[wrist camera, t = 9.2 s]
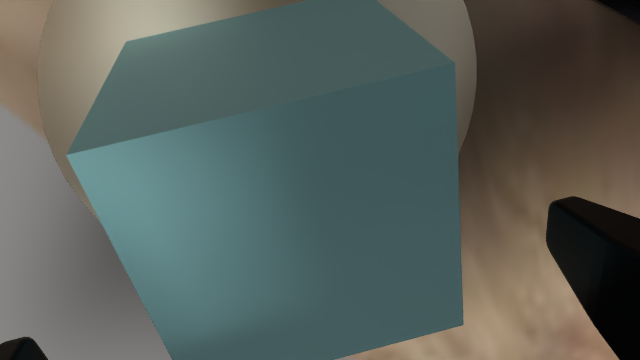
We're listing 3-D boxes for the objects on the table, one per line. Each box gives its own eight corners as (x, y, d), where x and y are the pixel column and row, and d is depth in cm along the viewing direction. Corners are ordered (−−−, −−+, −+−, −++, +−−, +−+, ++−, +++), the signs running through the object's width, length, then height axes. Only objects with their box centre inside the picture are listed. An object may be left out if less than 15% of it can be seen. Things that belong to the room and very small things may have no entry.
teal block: (360, -13, 13) (454, 62, 8) (385, 182, 16) (463, 324, 11) (126, 41, 13) (65, 155, 7) (199, 228, 16) (192, 397, 11)
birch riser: (483, -61, 17) (551, -44, 13) (364, 231, 22) (391, 296, 19) (88, -199, 13) (46, -224, 10) (64, 189, 19) (31, 260, 15)
